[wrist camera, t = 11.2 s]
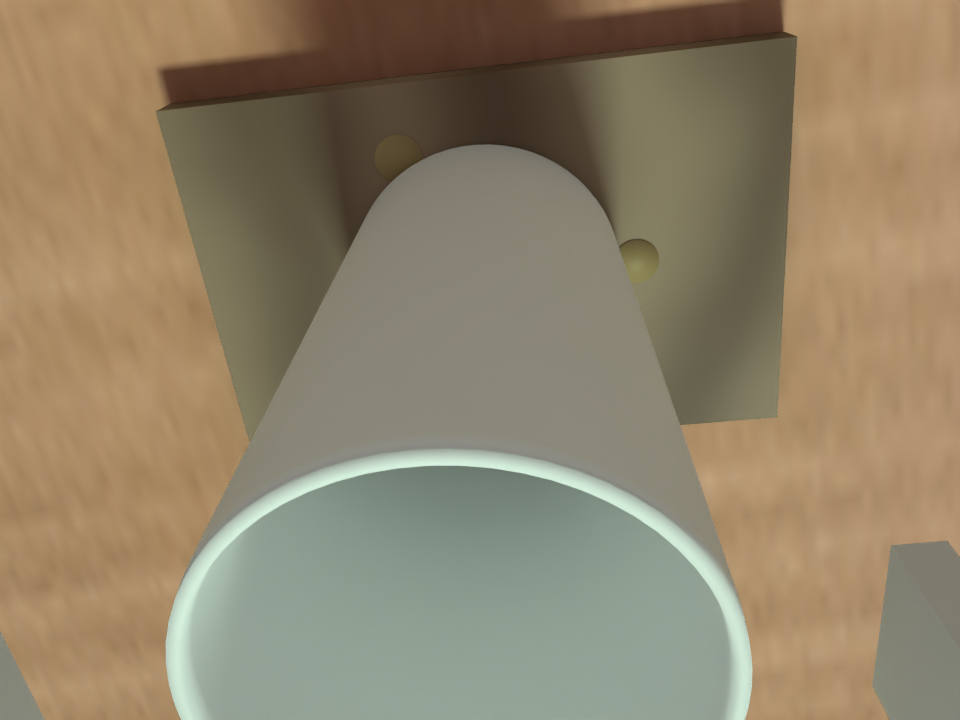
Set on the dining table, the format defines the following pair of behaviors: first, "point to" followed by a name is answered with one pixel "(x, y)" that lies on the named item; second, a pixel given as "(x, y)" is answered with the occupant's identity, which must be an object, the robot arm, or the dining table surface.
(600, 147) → the board
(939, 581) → the robot arm
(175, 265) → the dining table surface
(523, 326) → the cup
